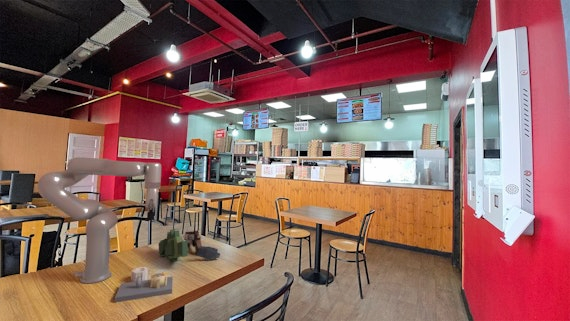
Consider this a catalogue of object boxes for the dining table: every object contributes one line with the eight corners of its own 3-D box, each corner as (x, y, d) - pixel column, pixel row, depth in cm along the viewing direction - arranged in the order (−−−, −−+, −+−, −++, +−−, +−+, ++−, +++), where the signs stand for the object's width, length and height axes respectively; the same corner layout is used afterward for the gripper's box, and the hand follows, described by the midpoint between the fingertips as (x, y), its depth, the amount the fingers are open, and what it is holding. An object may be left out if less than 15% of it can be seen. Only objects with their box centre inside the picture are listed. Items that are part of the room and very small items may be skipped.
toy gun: (190, 251, 179) (189, 230, 182) (204, 253, 158) (203, 229, 161) (183, 253, 176) (183, 231, 179) (197, 254, 155) (196, 230, 158)
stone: (217, 257, 156) (217, 241, 156) (221, 260, 151) (221, 244, 152) (195, 261, 147) (196, 245, 147) (198, 265, 143) (199, 248, 143)
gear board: (114, 302, 102) (115, 284, 102) (120, 287, 114) (121, 271, 114) (172, 293, 111) (172, 276, 111) (172, 280, 123) (173, 265, 123)
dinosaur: (197, 257, 137) (194, 223, 142) (176, 261, 129) (174, 226, 135) (176, 259, 161) (175, 231, 166) (158, 263, 154) (156, 233, 159)
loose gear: (130, 284, 117) (130, 273, 118) (132, 277, 124) (133, 267, 124) (147, 281, 120) (148, 271, 121) (148, 275, 127) (149, 266, 127)
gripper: (145, 184, 136) (144, 214, 135) (143, 187, 120) (141, 221, 120) (160, 184, 139) (159, 214, 139) (160, 187, 123) (158, 220, 123)
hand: (151, 217), depth 129 cm, fingers open, 9 cm apart
